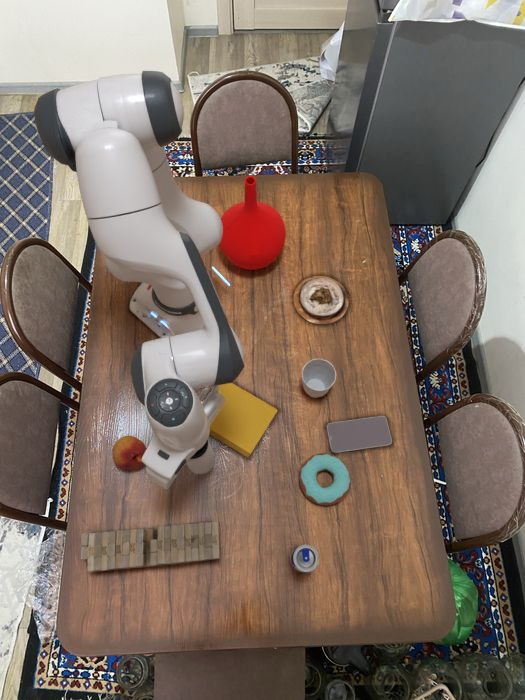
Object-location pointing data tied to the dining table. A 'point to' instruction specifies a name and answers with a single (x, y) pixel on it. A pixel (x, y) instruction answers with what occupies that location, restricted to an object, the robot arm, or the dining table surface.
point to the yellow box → (241, 419)
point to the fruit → (128, 452)
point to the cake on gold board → (320, 300)
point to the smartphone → (358, 434)
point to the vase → (252, 231)
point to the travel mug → (202, 460)
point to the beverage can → (304, 558)
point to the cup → (318, 377)
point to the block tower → (151, 546)
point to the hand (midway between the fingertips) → (193, 445)
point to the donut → (311, 485)
